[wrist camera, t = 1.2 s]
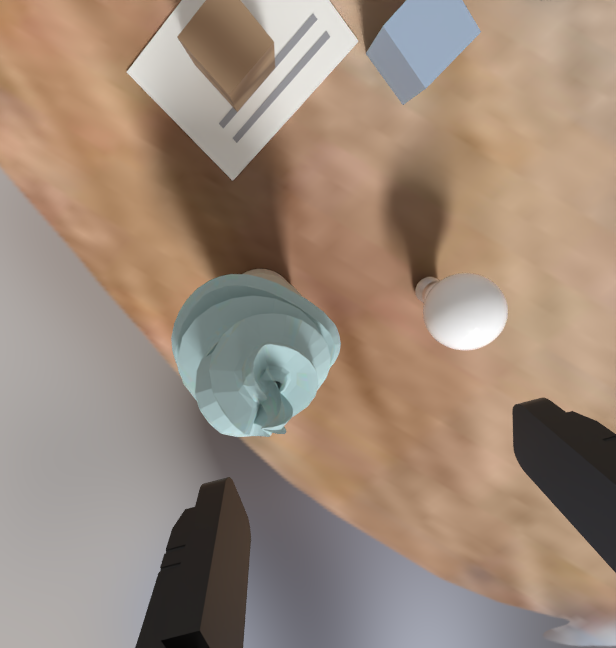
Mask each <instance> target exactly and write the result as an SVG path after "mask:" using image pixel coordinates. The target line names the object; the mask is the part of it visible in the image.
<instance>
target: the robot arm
mask: <svg viewBox="0 0 616 648" xmlns="http://www.w3.org/2000/svg"><path fill="white" fill-rule="evenodd" d="M513 447H514V453H515V456H516V458H517V461H518V463H519V464H520V466H521V468H522V469H523V470H524V472H525V473H526V474H527V475H528V476H529V477H530V478H531V479H532V481H533V482H534V483H535V484H536V485H537V486H538V487H539V488H540V489H541V491H542V492H543V493H544V494H545V495H546V496H547V497H548V498H549V499H550V500H551V502H552V503H553V504H554V505H555V506H556V507H557V508H558V509H559V510H560V512H561V513H562V514H563V515H564V516H565V517H566V518H567V519H568V520H569V522H570V523H571V524H572V525H573V526H574V527H575V528H576V529H577V530H578V532H579V533H580V534H581V535H582V536H583V537H584V538H585V539H586V540H587V541H588V543H589V544H590V545H591V546H592V547H593V548H594V549H595V550H596V551H597V553H598V554H599V555H600V556H601V557H602V558H603V559H604V560H605V561H606V563H607V564H608V565H609V566H610V567H611V568H612V569H613V570H614V571H615V572H616V434H615V433H613V432H612V431H610V430H609V429H607V428H606V427H605V426H603V425H602V424H600V423H599V422H597V421H595V420H593V419H590V418H588V417H585V416H583V415H581V414H578V413H576V412H573V411H571V412H567V413H566V412H565V411H563V410H562V409H561V408H559V407H558V406H557V405H555V404H554V403H553V402H551V401H550V400H548V399H546V398H539V399H535V400H531V401H527V402H523V403H520V404H516V405H514V407H513ZM250 543H251V533H250V525H249V520H248V516H247V514H246V511H245V509H244V506H243V504H242V502H241V499H240V497H239V494H238V492H237V490H236V487H235V485H234V483H233V480H232V479H231V478H230V477H228V478H224V479H220V480H216V481H212V482H208V483H204V484H202V485H201V487H200V490H199V494H198V498H197V502H196V506H195V507H193V508H189V509H185V511H184V512H183V514H182V515H181V517H180V518H179V520H178V521H177V523H176V524H175V526H174V527H173V529H172V531H171V535H170V538H169V541H168V545H167V548H166V554H164V557H163V561H162V564H161V567H160V568H161V571H160V572H159V573H158V577H157V580H156V583H155V586H154V590H153V593H152V596H151V599H150V602H149V606H148V609H147V612H146V616H145V619H144V622H143V625H142V629H141V632H140V635H139V638H138V641H137V644H136V647H135V648H243V641H244V627H245V613H246V599H247V585H248V570H249V556H250Z"/></svg>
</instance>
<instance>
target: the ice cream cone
mask: <svg viewBox="0 0 616 648" xmlns="http://www.w3.org/2000/svg"><path fill="white" fill-rule="evenodd" d="M171 339H172V350H173V354H174V357H175V361H176V363H177V366H178V370H179V374H180V376H181V377H182V380H183V384H184V385H185V386H186V388H187V389H188V390H189V392H190V393H191V394H192V395H193V397H194V398H195V399H196V401H197V402H198V406H199V409H200V410H201V412H202V414H203V415H204V417H205V418H206V420H207V421H208V422H209V424H210V425H212V426H213V427H214V428H215V429H216V430H218V431H219V432H220V433H221V434H227V435H231V436H236V437H243V436H267V437H269V436H271V434H272V433H277V434H285V433H286V429H285V427H284V425H285V424H286V423H287V422H288V421H289V420H290V419H291V418H292V416H295V415H296V414H298V413H299V412H300V411H302V410H303V409H305V408H306V407H307V406H308V405H309V404H310V402H311V401H312V400H313V398H314V397H315V395H316V392H317V389H319V387H320V386H321V385H322V383H323V382H324V380H325V379H326V377H327V374H328V372H329V369H330V367H331V366H332V365H333V364H334V362H335V360H336V358H337V356H338V354H339V352H340V344H341V343H340V337H339V333H338V330H337V328H336V325H335V324H334V323H333V322H332V321H331V320H330V319H329V317H328V316H327V315H326V314H325V313H324V312H323V311H322V310H320V309H319V308H318V307H316V306H315V305H314V304H312V303H311V302H310V301H308V300H307V299H305V298H303V297H302V295H301V294H300V293H299V292H298V291H297V290H296V289H295V288H294V287H293V286H292V285H290V284H289V283H288V282H287V281H286V280H285V279H284V277H282V276H281V275H279V274H278V273H276V272H274V271H271V270H267V269H254V270H250V271H247V272H245V273H243V274H229V275H224V276H220V277H217V278H215V279H212V280H210V281H208V282H207V283H205V284H204V285H202V286H200V287H199V288H197V289H196V290H195V291H194V293H193V294H192V295H191V296H190V297H189V298H188V299H187V300H186V302H185V303H184V305H183V306H182V308H181V310H180V311H179V314H178V316H177V318H176V321H175V323H174V328H173V333H172V338H171Z"/></svg>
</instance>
